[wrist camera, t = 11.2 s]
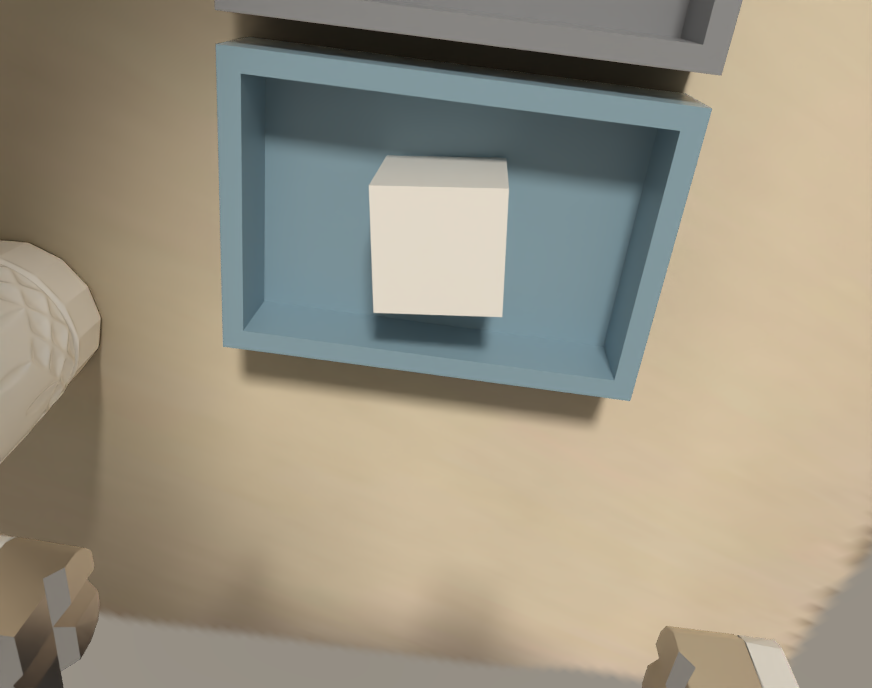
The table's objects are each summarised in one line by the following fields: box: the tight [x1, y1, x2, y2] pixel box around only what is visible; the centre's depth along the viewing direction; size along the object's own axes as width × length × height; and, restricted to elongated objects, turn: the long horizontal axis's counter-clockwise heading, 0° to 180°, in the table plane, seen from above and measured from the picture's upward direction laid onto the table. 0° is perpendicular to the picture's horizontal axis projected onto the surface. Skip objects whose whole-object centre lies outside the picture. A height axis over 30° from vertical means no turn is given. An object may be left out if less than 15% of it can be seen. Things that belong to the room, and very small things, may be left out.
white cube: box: [369, 155, 509, 317], centre depth 26 cm, size 4×4×4 cm
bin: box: [216, 37, 712, 401], centre depth 27 cm, size 11×16×4 cm
